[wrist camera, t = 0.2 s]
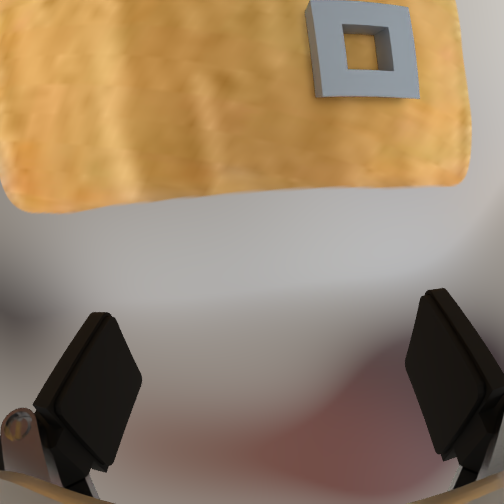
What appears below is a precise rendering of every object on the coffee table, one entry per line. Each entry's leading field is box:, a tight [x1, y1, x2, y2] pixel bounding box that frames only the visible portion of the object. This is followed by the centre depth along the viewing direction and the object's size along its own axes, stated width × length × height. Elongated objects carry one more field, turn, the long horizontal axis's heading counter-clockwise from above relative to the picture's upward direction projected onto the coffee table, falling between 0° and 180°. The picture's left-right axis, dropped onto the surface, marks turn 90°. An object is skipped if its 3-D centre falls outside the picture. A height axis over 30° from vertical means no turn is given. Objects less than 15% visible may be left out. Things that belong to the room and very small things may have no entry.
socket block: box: [305, 0, 420, 99], centre depth 28 cm, size 11×11×5 cm
